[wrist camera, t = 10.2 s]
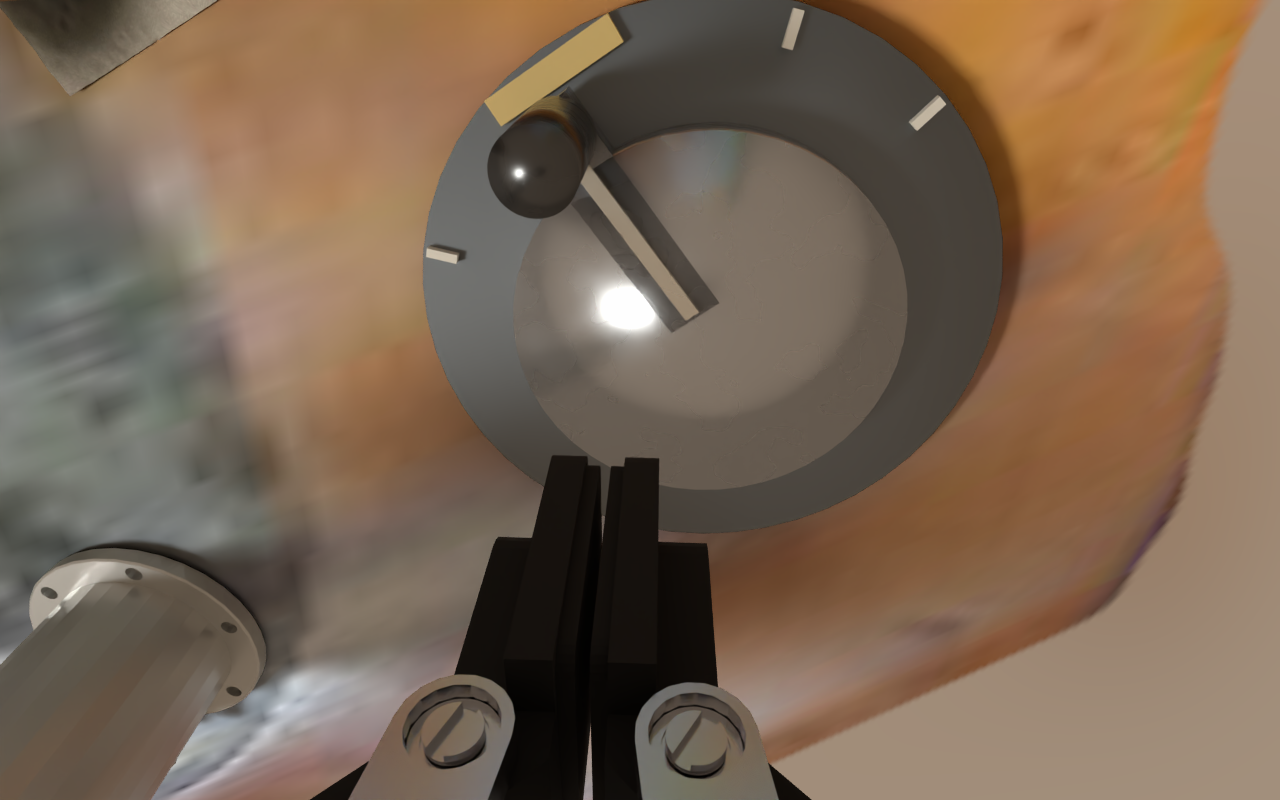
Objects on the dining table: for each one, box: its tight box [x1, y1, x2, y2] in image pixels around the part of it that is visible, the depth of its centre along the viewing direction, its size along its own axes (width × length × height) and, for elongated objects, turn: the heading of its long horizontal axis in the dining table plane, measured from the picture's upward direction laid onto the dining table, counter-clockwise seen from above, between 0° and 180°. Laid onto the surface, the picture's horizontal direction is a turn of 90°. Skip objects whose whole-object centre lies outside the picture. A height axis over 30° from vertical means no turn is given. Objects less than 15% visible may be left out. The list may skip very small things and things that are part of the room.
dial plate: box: [423, 0, 1003, 533], centre depth 31 cm, size 23×23×1 cm
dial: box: [487, 86, 907, 490], centre depth 27 cm, size 18×15×6 cm
